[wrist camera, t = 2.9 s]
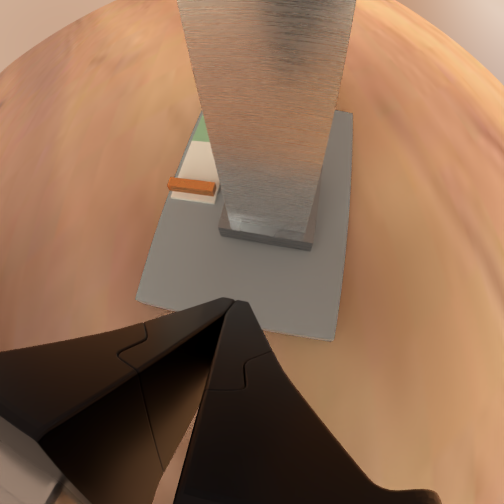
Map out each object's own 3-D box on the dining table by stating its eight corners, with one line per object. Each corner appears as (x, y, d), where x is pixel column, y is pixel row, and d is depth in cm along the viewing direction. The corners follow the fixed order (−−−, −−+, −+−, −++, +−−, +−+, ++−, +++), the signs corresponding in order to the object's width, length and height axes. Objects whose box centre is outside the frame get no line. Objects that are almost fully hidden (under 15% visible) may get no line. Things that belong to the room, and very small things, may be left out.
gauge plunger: (310, 251, 17) (396, -56, 3) (160, 226, 18) (16, -13, 4) (320, 176, 19) (368, -80, 4) (184, 157, 20) (110, -68, 5)
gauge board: (330, 341, 16) (350, 333, 12) (141, 303, 18) (107, 283, 14) (350, 100, 23) (360, 59, 19) (219, 83, 24) (212, 42, 20)
